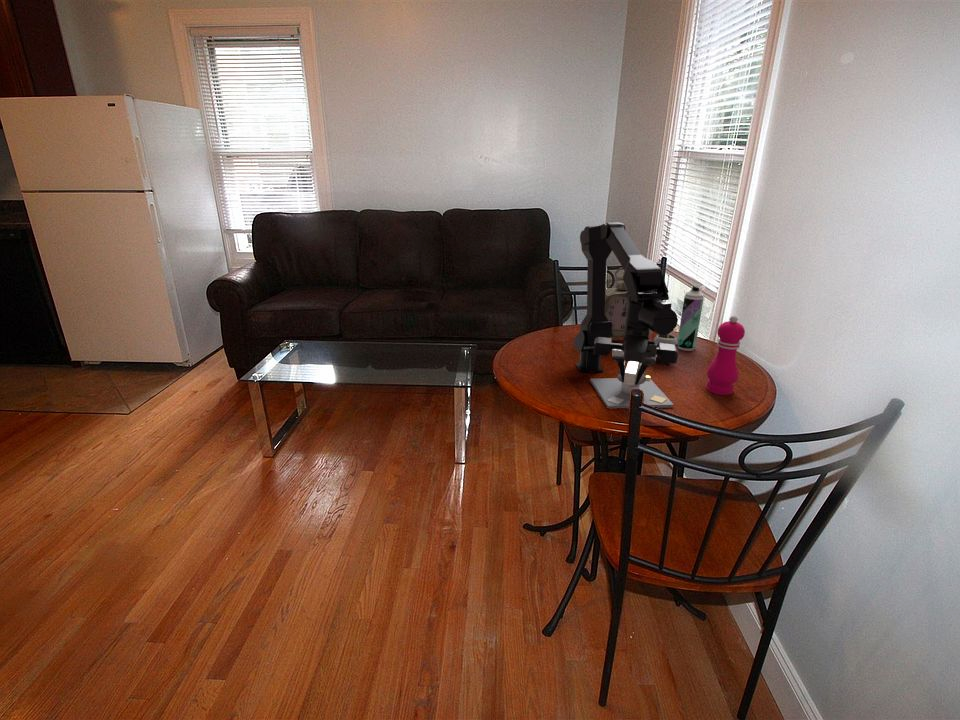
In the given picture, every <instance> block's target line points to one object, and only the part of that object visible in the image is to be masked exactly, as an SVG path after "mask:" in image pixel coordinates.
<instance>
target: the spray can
mask: <svg viewBox="0 0 960 720" xmlns="http://www.w3.org/2000/svg"><path fill="white" fill-rule="evenodd" d="M704 296H705V294H704V293H702V292H701V290H700V286H699V285H693V286H692V288H691V289H690V290H689V291H687V292H685V294H684V297H683V304H682V310H681V315H680V323H679V329H678V334H677V335H678V336H677V340H678V349H677V350H681V351H685V352H686V351H687V352H692V351H694V349H696V346H697V340H698V339H697V338H698V333H699V328H700V323H701V317H702V310H703V305H704V301H705V299H704V298H705V297H704Z"/></svg>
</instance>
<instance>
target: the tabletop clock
mask: <svg viewBox="0 0 960 720" xmlns="http://www.w3.org/2000/svg"><path fill="white" fill-rule="evenodd" d="M623 270H624V269H623V267H622V266H621V267H619V268H617V270H616V271H615V272H614V277H615V278H616V279H617V280H620V281H619V282H618V283H617V284H616V286H615V287H610V288H606V296H605V315H606V317H607V319H608V320H609V321H611V322H612V338H613V340H614V341H616V342H617V341H619V340H620V338H623V336H624V328H625V321H626V313H627V305H628V298H626V297H625V296H624V295H625V294H626V293H627V292H628V290H627V288H626V286H625V283H624V280H623V277H619V276H617V274H618V272H620V271H623ZM642 293H644V292H642Z"/></svg>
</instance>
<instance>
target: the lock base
mask: <svg viewBox="0 0 960 720" xmlns="http://www.w3.org/2000/svg"><path fill="white" fill-rule="evenodd" d="M590 383H591V385H592V387H593V388H594V389H595V391H596V392H597V394H598V396H599V398H600V397H601V398H600V399H601V401H602V400H603V401H602V402H603V404H604V403H605V404H604V405H606V406H607V407H606V406H605V407H606V409H607V408H627V409H628V410H629V403H630V392H631V390H632V389H640V390H642V391H643V393H644V402H643V403H644V404H647V405H650V406H654V407H657V408H656V409H663V408H665V409H667V408H672V409H673V408H674V403H673V402H672V401H671V400H670V399H669V398H668V397H667V396H666V394H665V393H664V392H663V391H662V390H661V389H660V388H659V387H658V386H657V384H655V382H654V381H653V380H652V379H651V378H650V382H649V381H645V382H644V383H643V384H639V385H634V386H633V385H626V384H624V383H623V382H621V381H619V380H618V378H617V377H614V378H613V377H612V378H611V377H609V378H607V377H606V378H604V377H603V378H590Z"/></svg>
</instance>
